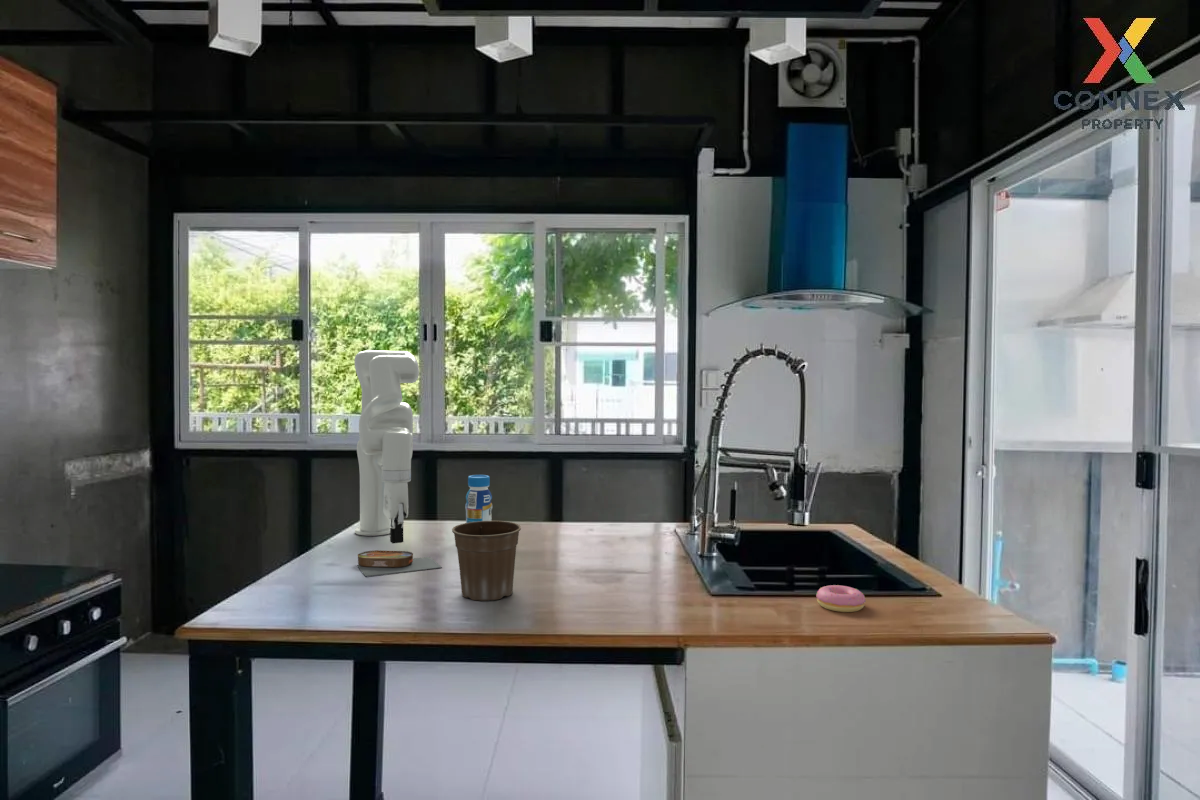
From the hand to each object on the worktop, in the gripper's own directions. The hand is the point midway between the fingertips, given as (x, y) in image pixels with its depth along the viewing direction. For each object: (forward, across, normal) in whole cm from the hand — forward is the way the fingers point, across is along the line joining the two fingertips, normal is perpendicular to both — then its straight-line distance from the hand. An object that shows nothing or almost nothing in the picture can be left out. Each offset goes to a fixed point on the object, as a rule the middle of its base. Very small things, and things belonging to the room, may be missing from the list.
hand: (396, 542), depth 206 cm
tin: (+5, -4, 0) cm, 6 cm away
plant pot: (+6, +36, +13) cm, 39 cm away
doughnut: (+6, +81, +83) cm, 116 cm away
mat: (+6, +3, 0) cm, 7 cm away
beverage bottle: (+6, -19, +30) cm, 36 cm away
